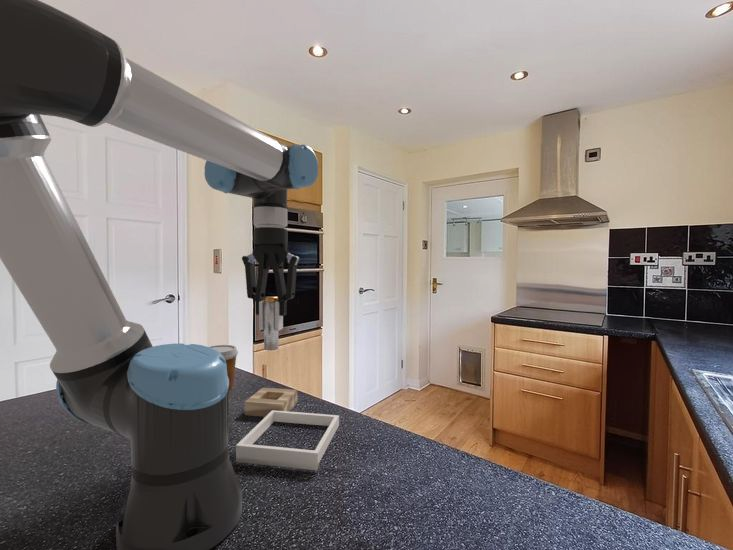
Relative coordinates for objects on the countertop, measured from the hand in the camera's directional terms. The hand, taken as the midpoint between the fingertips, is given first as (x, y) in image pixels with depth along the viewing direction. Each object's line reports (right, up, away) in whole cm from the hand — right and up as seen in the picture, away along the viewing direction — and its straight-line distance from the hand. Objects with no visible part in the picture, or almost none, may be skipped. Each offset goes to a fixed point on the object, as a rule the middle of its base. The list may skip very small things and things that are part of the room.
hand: (271, 329), depth 83 cm
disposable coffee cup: (-17, -19, +13) cm, 29 cm away
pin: (0, -5, 0) cm, 5 cm away
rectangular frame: (+8, -20, -14) cm, 26 cm away
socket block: (0, -20, +1) cm, 20 cm away
